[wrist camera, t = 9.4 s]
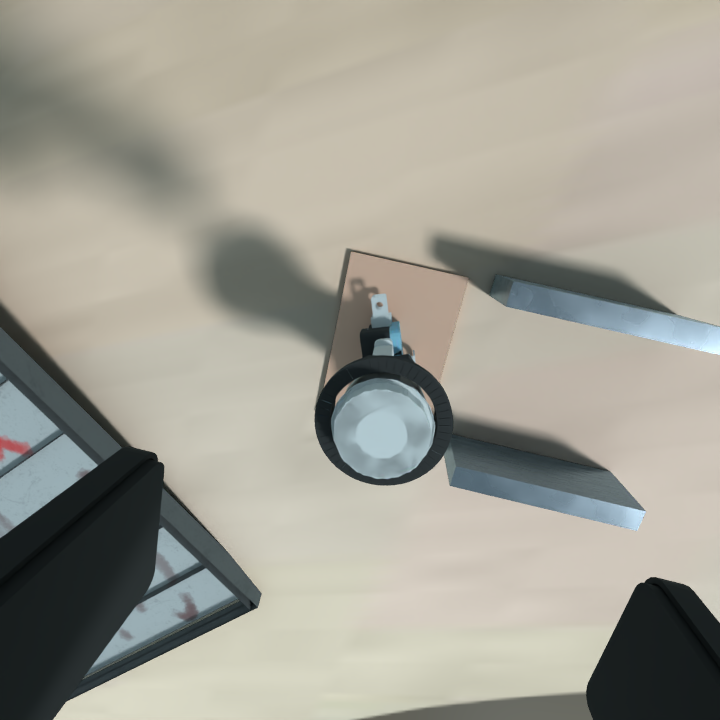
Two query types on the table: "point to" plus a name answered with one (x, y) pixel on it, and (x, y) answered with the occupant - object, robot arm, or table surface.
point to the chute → (553, 476)
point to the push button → (383, 410)
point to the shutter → (69, 464)
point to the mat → (398, 311)
